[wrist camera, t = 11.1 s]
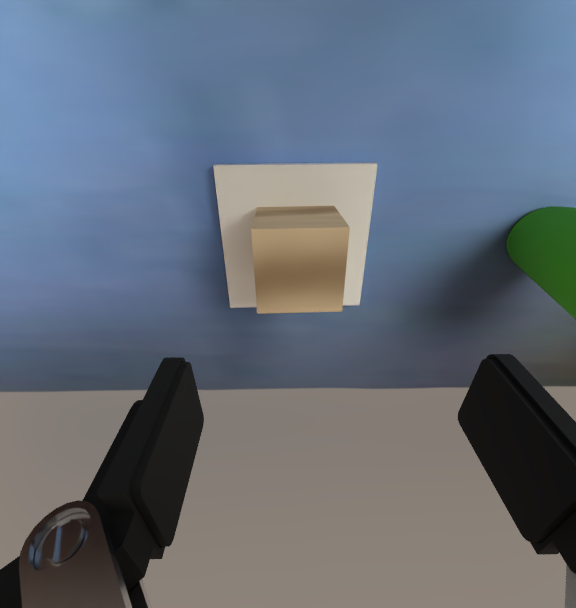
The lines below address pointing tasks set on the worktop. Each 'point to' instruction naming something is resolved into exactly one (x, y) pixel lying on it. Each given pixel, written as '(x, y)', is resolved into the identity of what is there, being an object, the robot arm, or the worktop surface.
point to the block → (299, 259)
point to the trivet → (283, 193)
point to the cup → (548, 252)
